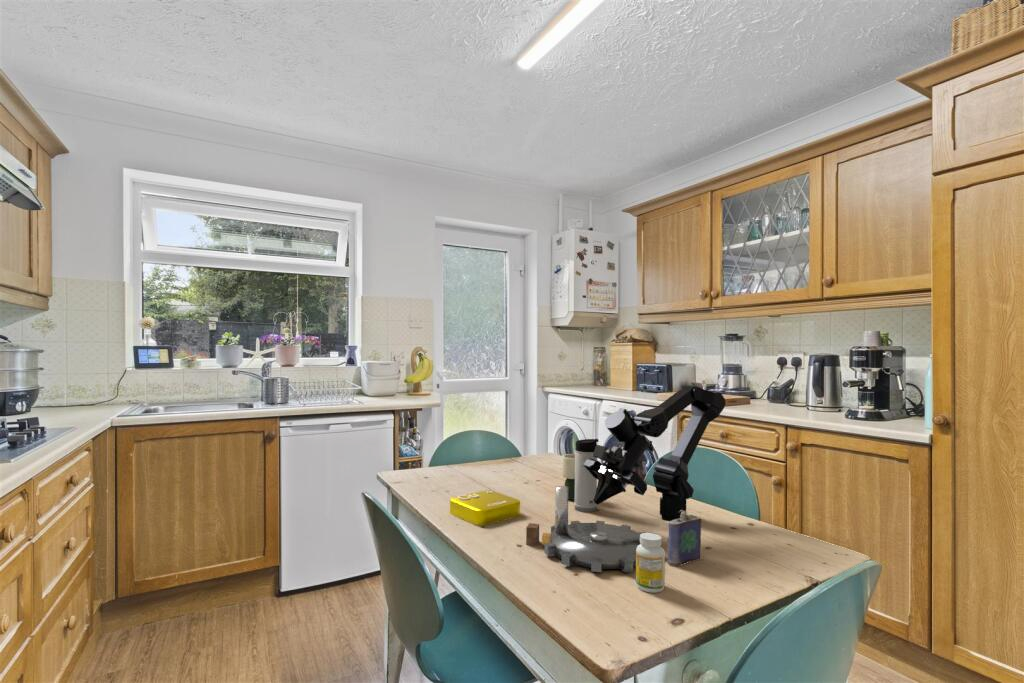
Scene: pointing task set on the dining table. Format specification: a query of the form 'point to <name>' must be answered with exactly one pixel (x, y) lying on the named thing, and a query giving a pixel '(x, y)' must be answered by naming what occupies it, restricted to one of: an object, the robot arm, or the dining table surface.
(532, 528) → the brown rectangular block
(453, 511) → the element tile
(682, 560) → the flask
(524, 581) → the dining table surface
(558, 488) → the sprocket
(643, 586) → the supplement bottle
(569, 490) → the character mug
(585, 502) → the travel mug
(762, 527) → the dining table surface
